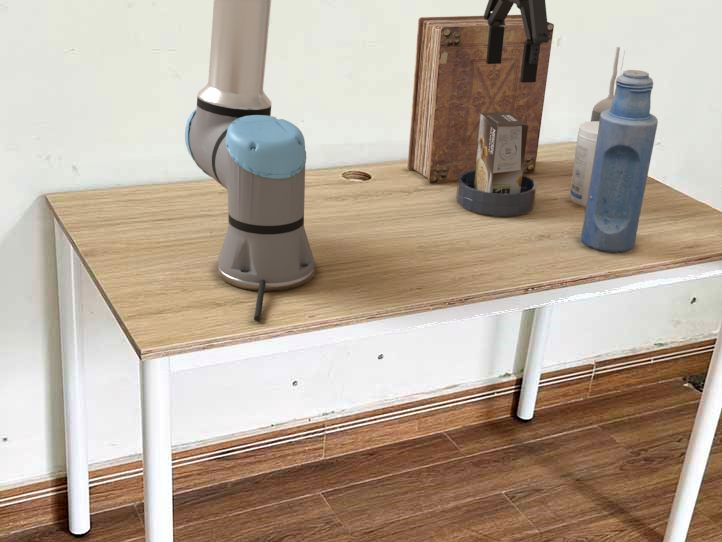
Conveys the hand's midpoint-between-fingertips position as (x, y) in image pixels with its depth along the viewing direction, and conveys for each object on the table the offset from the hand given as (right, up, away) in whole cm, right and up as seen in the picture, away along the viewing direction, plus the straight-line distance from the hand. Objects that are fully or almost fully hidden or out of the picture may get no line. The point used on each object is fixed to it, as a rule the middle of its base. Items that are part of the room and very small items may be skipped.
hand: (510, 72), depth 190 cm
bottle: (+17, -31, -2) cm, 36 cm away
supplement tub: (+18, -20, +17) cm, 32 cm away
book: (-5, -12, +29) cm, 32 cm away
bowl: (-2, -21, +12) cm, 25 cm away
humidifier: (+23, -9, +37) cm, 44 cm away
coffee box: (-2, -21, +12) cm, 25 cm away
